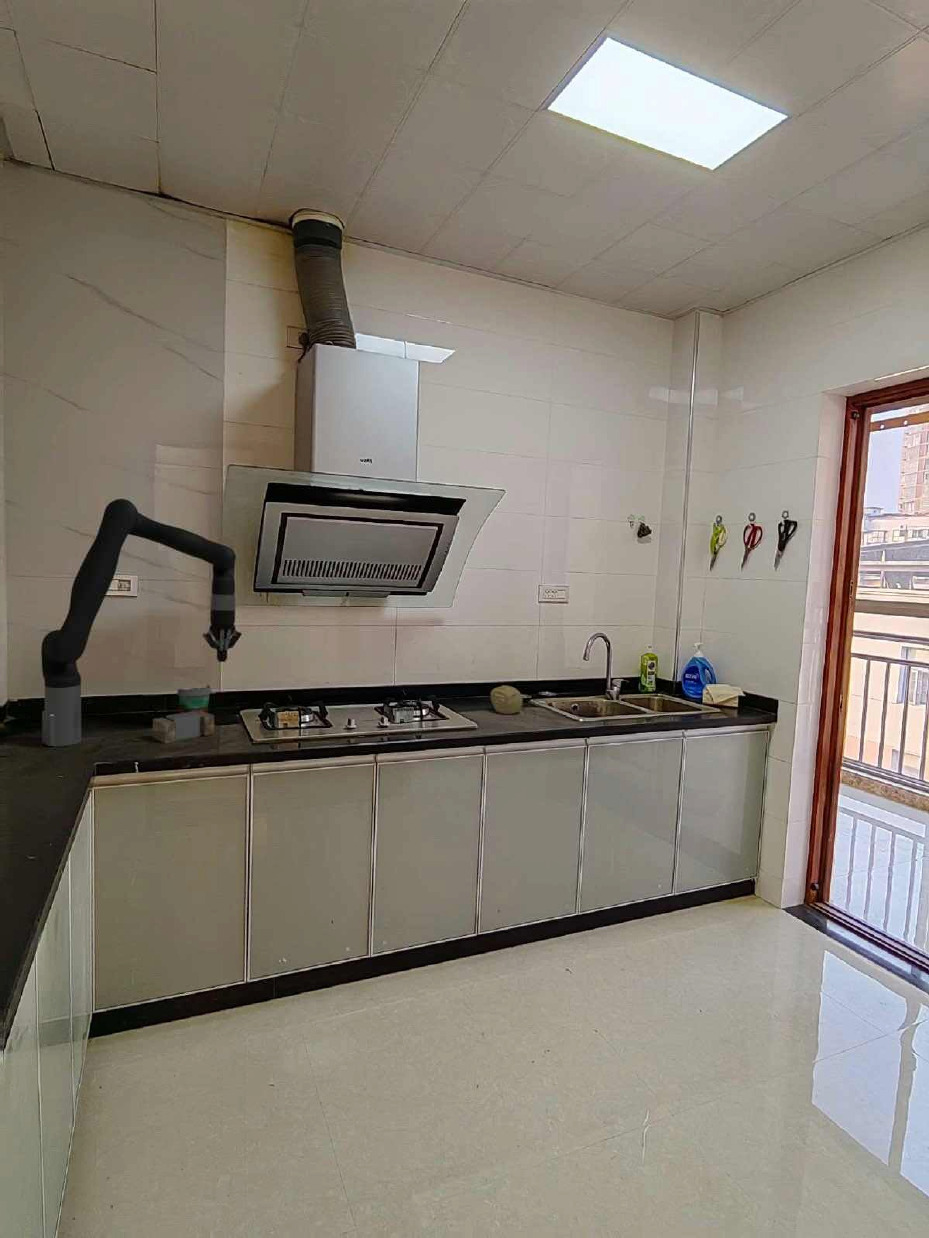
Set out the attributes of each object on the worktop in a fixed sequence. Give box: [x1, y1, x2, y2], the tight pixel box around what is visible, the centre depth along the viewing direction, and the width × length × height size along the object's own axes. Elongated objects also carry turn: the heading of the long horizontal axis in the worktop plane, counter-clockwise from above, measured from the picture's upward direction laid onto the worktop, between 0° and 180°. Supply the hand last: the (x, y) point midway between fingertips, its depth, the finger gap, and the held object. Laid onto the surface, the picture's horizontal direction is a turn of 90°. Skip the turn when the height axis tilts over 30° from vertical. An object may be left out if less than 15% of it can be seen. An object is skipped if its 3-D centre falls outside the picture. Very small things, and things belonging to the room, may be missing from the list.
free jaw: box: [196, 711, 215, 736], centre depth 222 cm, size 3×8×6 cm, turn 49°
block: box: [165, 712, 202, 741], centre depth 218 cm, size 9×5×7 cm, turn 139°
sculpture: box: [490, 684, 524, 715], centre depth 274 cm, size 11×12×11 cm
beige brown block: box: [152, 717, 176, 744], centre depth 213 cm, size 3×8×6 cm, turn 49°
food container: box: [176, 684, 212, 714], centre depth 244 cm, size 12×6×10 cm, turn 143°
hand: (221, 661), depth 225 cm, fingers closed
